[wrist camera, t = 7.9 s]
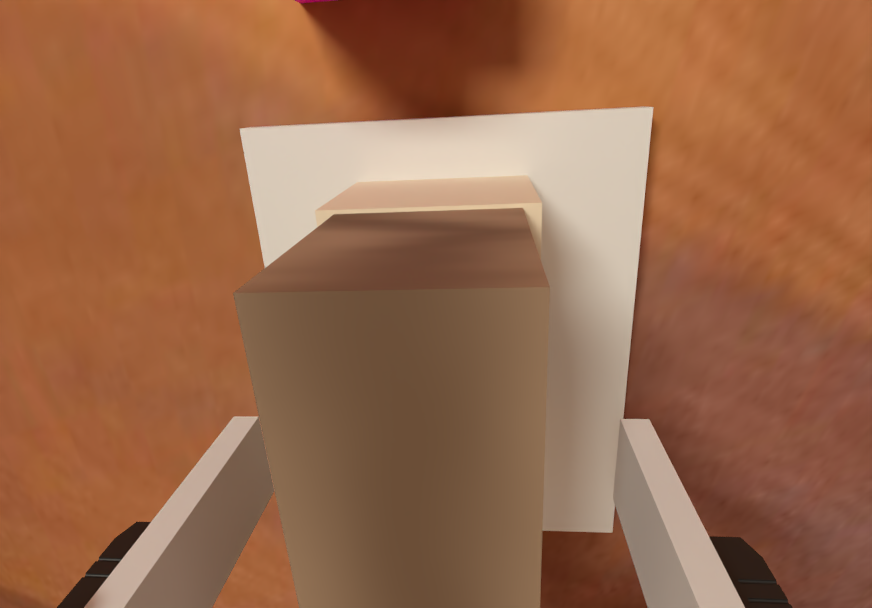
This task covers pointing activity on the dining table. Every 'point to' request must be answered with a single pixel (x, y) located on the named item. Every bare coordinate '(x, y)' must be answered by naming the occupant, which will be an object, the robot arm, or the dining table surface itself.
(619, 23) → the dining table surface
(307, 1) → the toy block
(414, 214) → the lintel block
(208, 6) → the dining table surface
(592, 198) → the post board
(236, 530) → the robot arm
